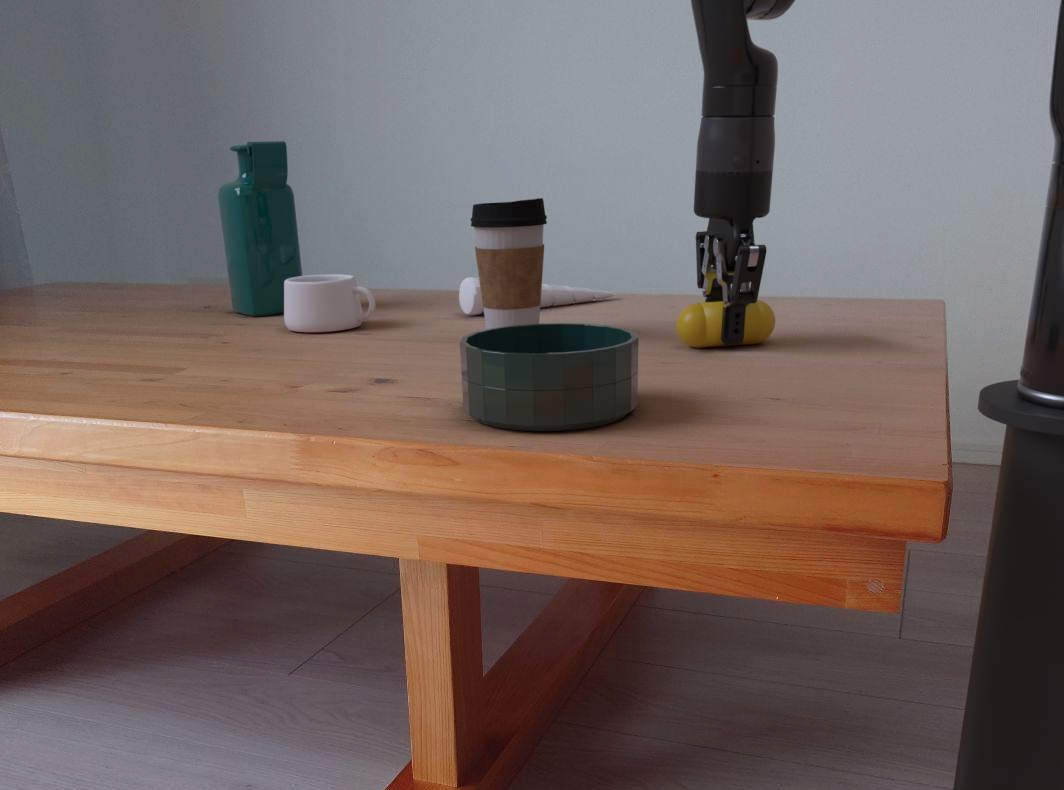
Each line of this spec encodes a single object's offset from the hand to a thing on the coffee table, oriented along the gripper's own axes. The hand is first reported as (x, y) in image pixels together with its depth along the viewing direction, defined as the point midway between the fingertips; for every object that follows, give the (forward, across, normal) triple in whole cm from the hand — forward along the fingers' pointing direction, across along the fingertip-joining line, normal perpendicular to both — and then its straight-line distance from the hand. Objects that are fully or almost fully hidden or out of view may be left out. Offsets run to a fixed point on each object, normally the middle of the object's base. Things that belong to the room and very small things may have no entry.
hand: (722, 337), depth 106 cm
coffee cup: (+2, +12, +20) cm, 24 cm away
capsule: (0, -2, 0) cm, 2 cm away
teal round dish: (0, -23, +23) cm, 33 cm away
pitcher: (+4, +45, +49) cm, 67 cm away
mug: (+3, +27, +41) cm, 49 cm away
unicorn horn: (+3, +35, +13) cm, 37 cm away
